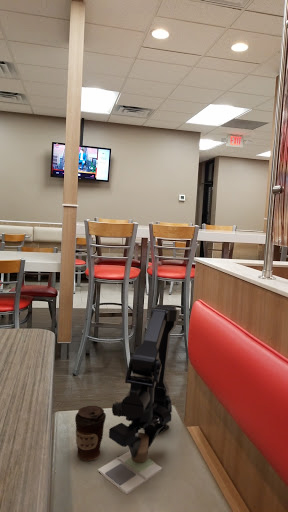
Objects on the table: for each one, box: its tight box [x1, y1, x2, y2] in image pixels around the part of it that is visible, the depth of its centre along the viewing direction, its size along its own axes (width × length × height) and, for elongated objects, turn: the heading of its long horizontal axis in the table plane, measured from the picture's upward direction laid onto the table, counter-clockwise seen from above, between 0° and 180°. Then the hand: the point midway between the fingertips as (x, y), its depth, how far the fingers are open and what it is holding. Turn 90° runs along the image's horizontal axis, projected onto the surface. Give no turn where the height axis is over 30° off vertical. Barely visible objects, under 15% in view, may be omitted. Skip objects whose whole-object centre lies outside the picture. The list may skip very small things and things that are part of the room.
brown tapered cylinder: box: [131, 432, 149, 463], centre depth 104 cm, size 4×4×6 cm
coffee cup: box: [74, 405, 107, 462], centre depth 107 cm, size 9×8×13 cm
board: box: [97, 450, 163, 495], centre depth 102 cm, size 13×11×1 cm
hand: (140, 453), depth 104 cm, fingers open, 5 cm apart
